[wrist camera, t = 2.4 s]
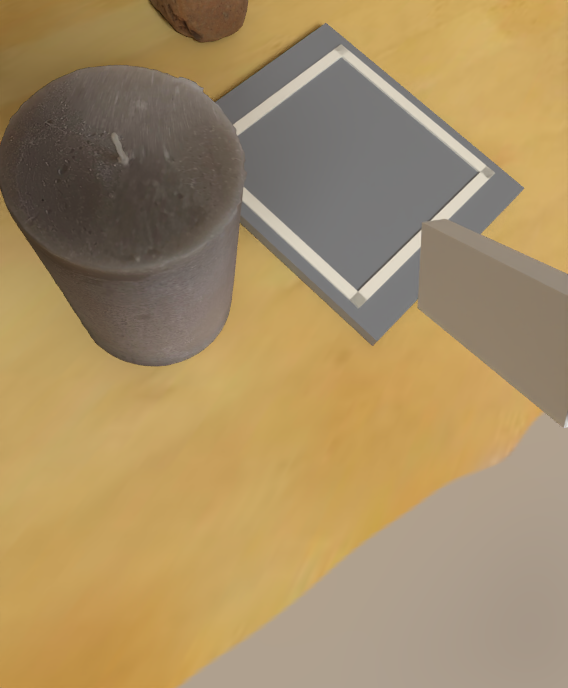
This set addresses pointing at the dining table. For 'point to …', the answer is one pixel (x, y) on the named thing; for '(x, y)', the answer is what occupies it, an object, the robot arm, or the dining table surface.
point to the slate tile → (353, 177)
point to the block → (203, 17)
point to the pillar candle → (130, 205)
